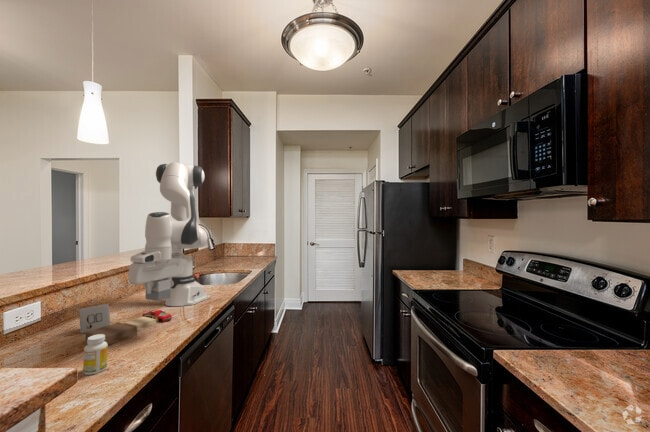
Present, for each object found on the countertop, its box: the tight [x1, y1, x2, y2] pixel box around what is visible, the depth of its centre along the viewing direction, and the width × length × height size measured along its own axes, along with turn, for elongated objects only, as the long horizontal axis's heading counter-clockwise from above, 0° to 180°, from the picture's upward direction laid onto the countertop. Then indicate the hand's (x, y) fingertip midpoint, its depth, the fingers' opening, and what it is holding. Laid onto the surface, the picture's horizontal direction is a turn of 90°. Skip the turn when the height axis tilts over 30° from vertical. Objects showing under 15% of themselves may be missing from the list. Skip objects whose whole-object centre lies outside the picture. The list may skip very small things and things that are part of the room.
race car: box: [141, 309, 173, 323], centre depth 125 cm, size 13×5×4 cm, turn 73°
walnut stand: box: [84, 322, 138, 346], centre depth 105 cm, size 11×11×3 cm
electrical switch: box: [78, 303, 111, 335], centre depth 113 cm, size 9×5×9 cm, turn 141°
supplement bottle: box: [82, 334, 109, 376], centre depth 83 cm, size 5×5×10 cm
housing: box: [145, 279, 171, 302], centre depth 109 cm, size 5×7×7 cm
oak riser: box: [123, 316, 157, 332], centre depth 117 cm, size 8×8×2 cm
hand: (158, 291), depth 109 cm, fingers closed on housing, 5 cm apart
